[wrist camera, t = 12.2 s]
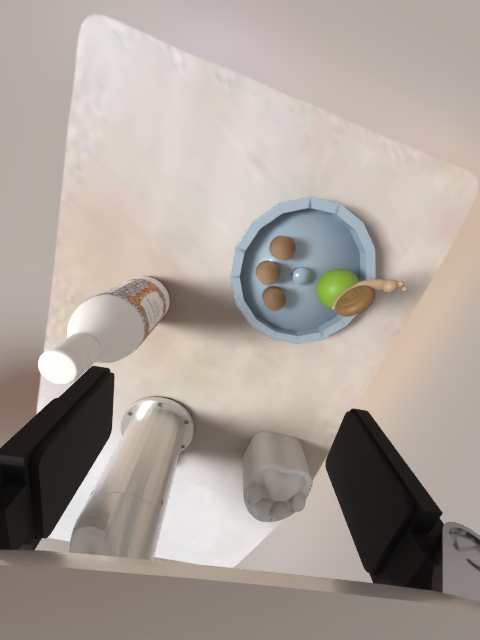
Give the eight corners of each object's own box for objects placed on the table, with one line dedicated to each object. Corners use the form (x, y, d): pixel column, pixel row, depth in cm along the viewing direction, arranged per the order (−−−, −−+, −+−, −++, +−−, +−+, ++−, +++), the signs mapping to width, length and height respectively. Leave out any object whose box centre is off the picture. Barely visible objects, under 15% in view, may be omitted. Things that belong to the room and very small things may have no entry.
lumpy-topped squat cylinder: (307, 439, 47) (323, 483, 39) (283, 488, 51) (293, 537, 43) (254, 427, 46) (258, 470, 38) (234, 478, 50) (234, 526, 42)
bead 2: (274, 283, 36) (276, 287, 34) (253, 279, 36) (254, 283, 33) (279, 262, 35) (282, 265, 33) (258, 258, 35) (260, 260, 32)
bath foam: (175, 317, 38) (117, 402, 20) (130, 323, 39) (31, 412, 20) (164, 272, 36) (87, 318, 17) (117, 278, 36) (-10, 331, 17)
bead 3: (279, 307, 37) (282, 312, 35) (260, 303, 37) (261, 308, 34) (285, 287, 36) (288, 291, 34) (264, 283, 36) (266, 287, 34)
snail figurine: (362, 281, 36) (421, 305, 25) (326, 310, 37) (365, 345, 26) (341, 252, 35) (392, 263, 23) (303, 283, 36) (335, 308, 25)
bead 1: (288, 260, 35) (292, 262, 32) (267, 256, 35) (269, 258, 32) (294, 238, 34) (298, 238, 32) (272, 233, 34) (275, 233, 31)
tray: (339, 344, 40) (346, 352, 38) (221, 322, 39) (220, 329, 36) (386, 218, 34) (398, 217, 32) (247, 185, 33) (248, 182, 30)
